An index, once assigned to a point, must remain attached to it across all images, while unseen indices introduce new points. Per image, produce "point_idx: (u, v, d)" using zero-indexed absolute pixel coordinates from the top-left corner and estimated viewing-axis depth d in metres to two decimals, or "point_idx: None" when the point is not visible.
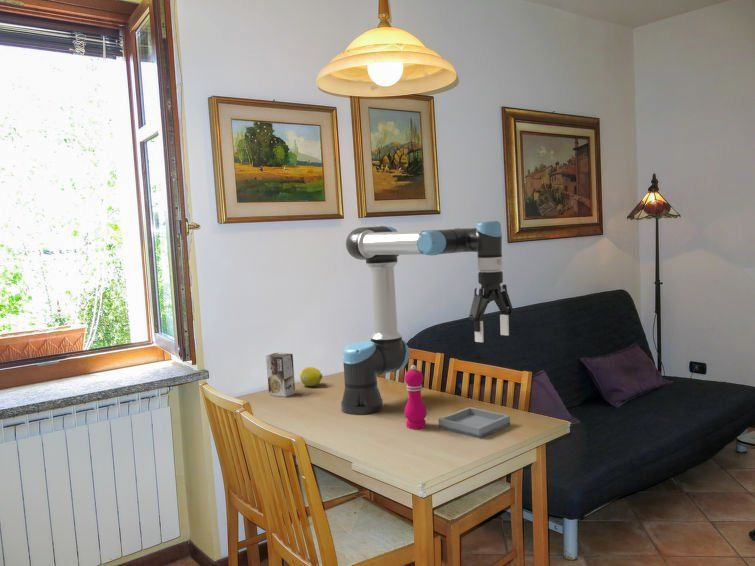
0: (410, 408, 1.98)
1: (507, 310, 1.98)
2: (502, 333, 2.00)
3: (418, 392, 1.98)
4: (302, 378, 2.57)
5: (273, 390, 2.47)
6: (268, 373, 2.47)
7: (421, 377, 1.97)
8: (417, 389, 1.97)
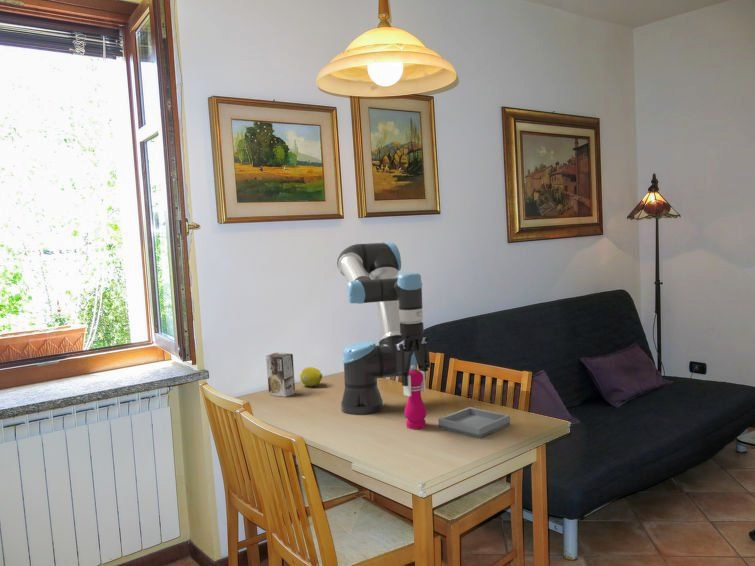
0: (410, 408, 1.98)
1: (424, 366, 2.01)
2: None
3: (418, 392, 1.98)
4: (302, 378, 2.57)
5: (273, 390, 2.47)
6: (268, 373, 2.47)
7: (421, 377, 1.97)
8: (417, 389, 1.97)
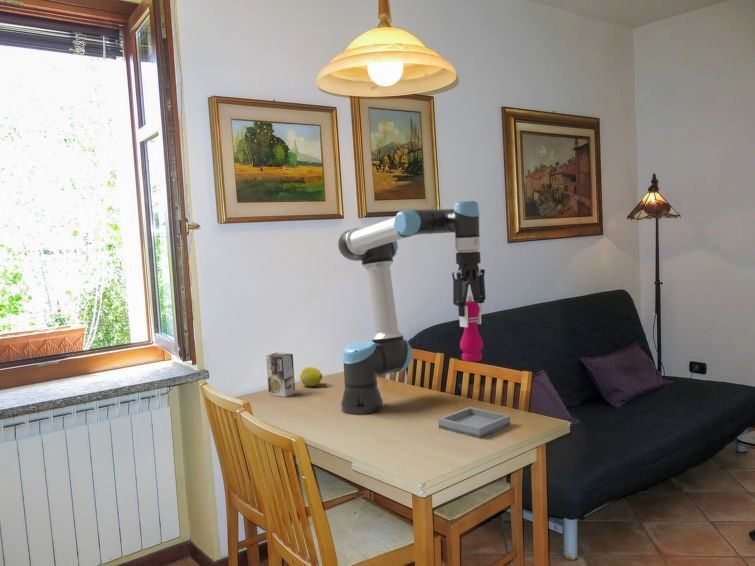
0: (466, 339, 1.92)
1: (480, 297, 1.96)
2: None
3: (475, 323, 1.93)
4: (302, 378, 2.57)
5: (273, 390, 2.47)
6: (268, 373, 2.47)
7: (478, 308, 1.92)
8: (474, 320, 1.92)
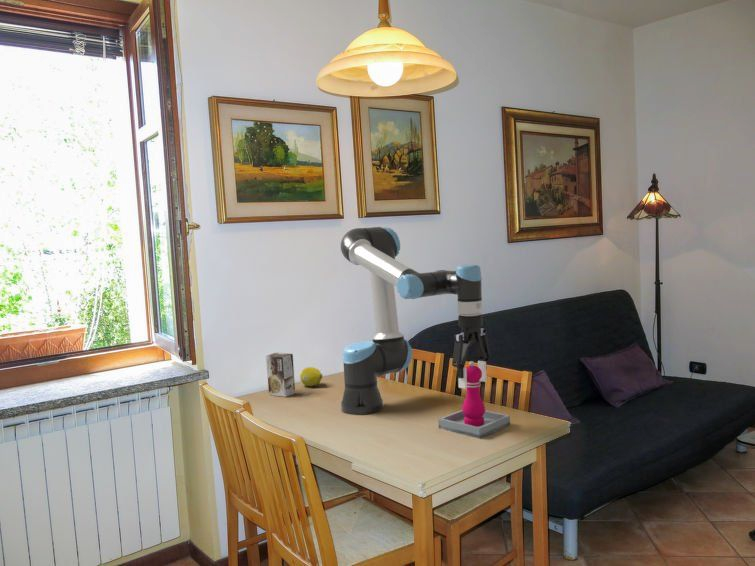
0: (469, 404, 1.94)
1: (485, 356, 1.98)
2: (480, 379, 2.00)
3: (477, 388, 1.95)
4: (302, 378, 2.57)
5: (273, 390, 2.47)
6: (268, 373, 2.47)
7: (480, 373, 1.94)
8: (476, 385, 1.94)
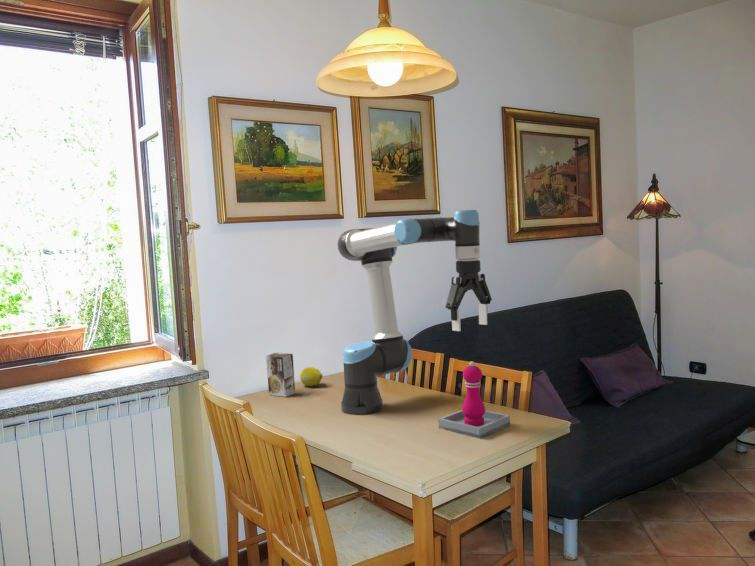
0: (469, 405, 1.94)
1: (485, 299, 1.98)
2: (481, 322, 2.00)
3: (477, 389, 1.95)
4: (302, 378, 2.57)
5: (273, 390, 2.47)
6: (268, 373, 2.47)
7: (480, 373, 1.94)
8: (476, 386, 1.94)
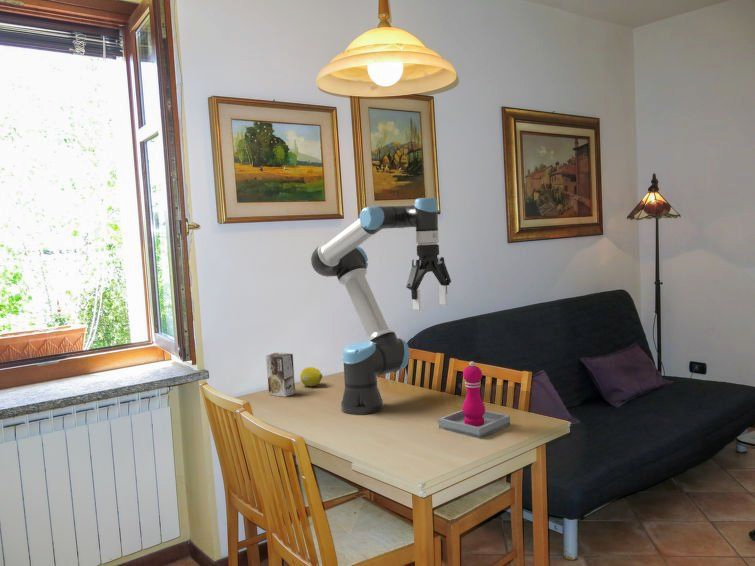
0: (469, 405, 1.94)
1: (445, 281, 2.15)
2: (441, 302, 2.16)
3: (477, 389, 1.95)
4: (302, 378, 2.57)
5: (273, 390, 2.47)
6: (268, 373, 2.47)
7: (480, 373, 1.94)
8: (476, 386, 1.94)
